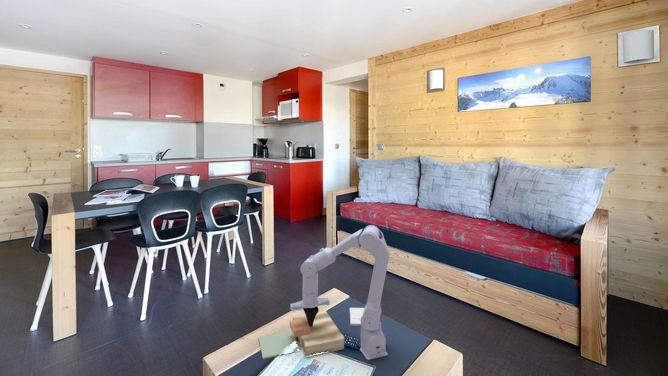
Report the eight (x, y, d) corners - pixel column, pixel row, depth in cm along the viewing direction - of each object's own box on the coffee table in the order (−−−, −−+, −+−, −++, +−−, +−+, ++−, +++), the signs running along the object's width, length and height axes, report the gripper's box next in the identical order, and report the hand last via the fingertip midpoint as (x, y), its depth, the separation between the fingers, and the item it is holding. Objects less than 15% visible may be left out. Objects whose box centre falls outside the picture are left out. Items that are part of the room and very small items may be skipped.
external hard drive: (367, 311, 138) (370, 327, 125) (349, 311, 138) (350, 326, 125) (367, 308, 138) (371, 323, 125) (349, 307, 138) (350, 323, 125)
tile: (310, 333, 113) (310, 327, 112) (294, 337, 111) (293, 331, 110) (305, 323, 119) (305, 317, 119) (289, 327, 117) (289, 320, 117)
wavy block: (344, 348, 111) (344, 338, 110) (306, 357, 106) (306, 346, 105) (325, 319, 129) (325, 310, 129) (292, 326, 124) (292, 316, 124)
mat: (300, 351, 109) (300, 349, 109) (262, 359, 105) (262, 357, 105) (292, 332, 120) (292, 330, 120) (258, 339, 116) (258, 337, 116)
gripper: (325, 283, 121) (325, 316, 122) (288, 288, 116) (288, 323, 117) (331, 291, 114) (331, 325, 116) (292, 297, 109) (292, 333, 111)
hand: (310, 325), depth 116 cm, fingers closed
